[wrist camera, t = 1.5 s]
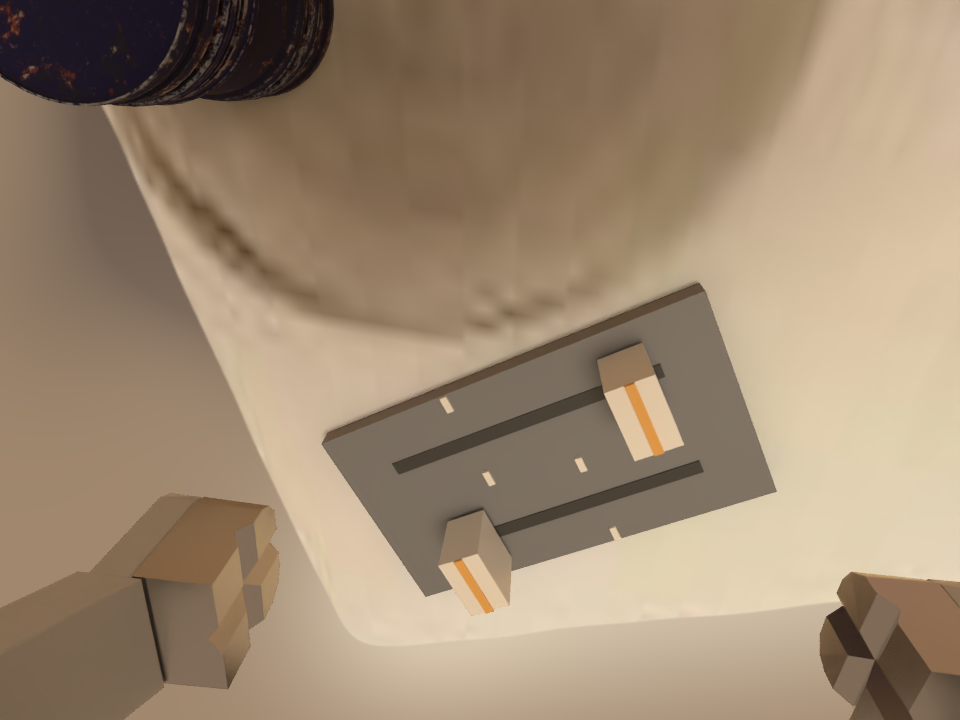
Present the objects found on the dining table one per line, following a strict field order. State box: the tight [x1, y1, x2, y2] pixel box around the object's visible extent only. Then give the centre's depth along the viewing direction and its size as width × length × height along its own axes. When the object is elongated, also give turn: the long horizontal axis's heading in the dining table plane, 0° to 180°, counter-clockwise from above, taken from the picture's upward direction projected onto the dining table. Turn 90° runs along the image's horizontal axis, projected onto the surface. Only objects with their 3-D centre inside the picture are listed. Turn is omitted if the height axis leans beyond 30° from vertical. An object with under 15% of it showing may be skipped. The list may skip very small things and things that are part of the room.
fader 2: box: [597, 342, 684, 461], centre depth 36 cm, size 3×5×5 cm, turn 26°
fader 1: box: [438, 510, 512, 616], centre depth 43 cm, size 3×5×5 cm, turn 26°
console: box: [322, 283, 777, 597], centre depth 42 cm, size 28×16×2 cm, turn 116°
